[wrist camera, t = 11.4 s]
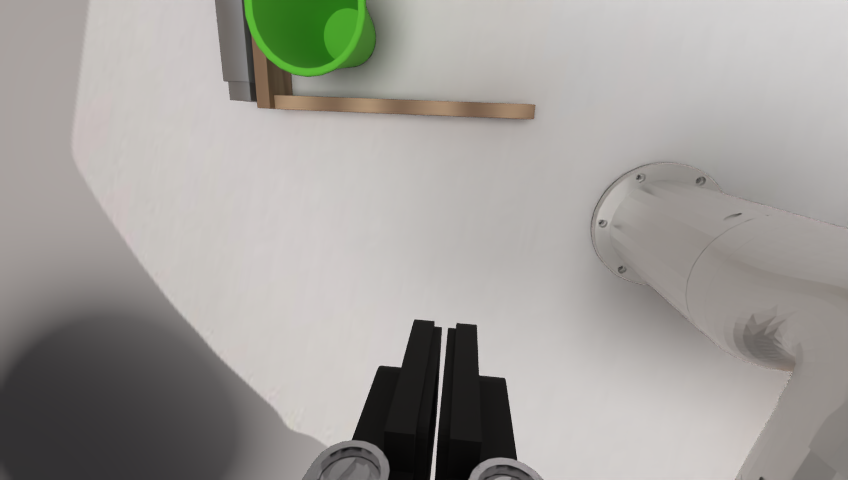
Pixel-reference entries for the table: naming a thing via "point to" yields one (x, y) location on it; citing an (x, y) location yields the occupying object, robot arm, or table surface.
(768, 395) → the table surface
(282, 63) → the cup
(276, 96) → the bay
